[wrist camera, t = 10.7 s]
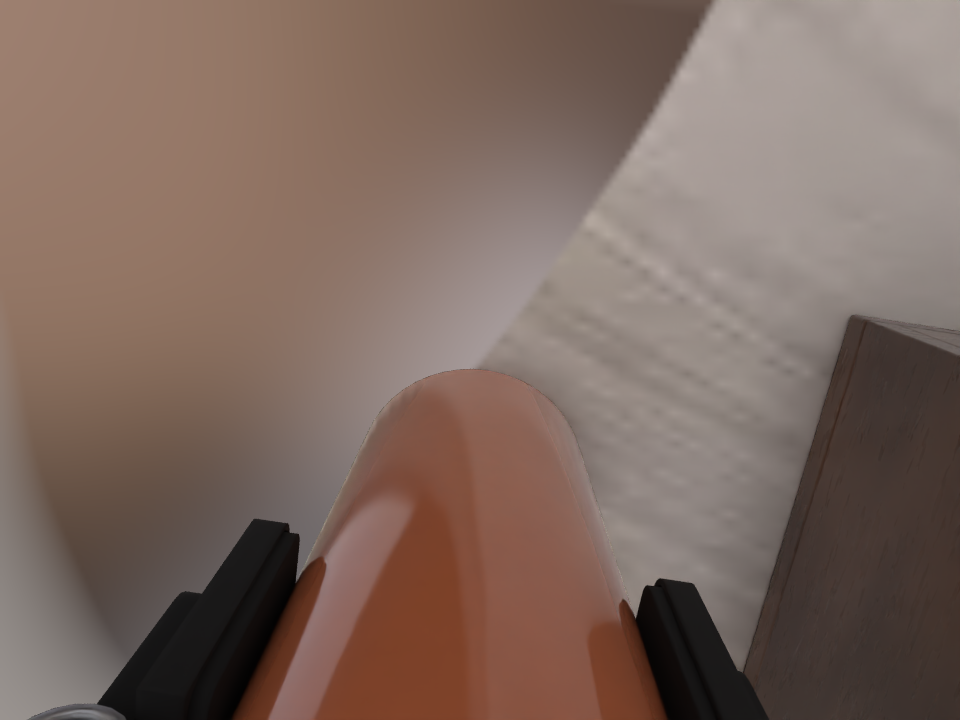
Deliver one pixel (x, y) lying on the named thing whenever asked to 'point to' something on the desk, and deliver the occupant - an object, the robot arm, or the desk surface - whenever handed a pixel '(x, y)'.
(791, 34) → the desk surface
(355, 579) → the pencil cup
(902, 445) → the cabinet
